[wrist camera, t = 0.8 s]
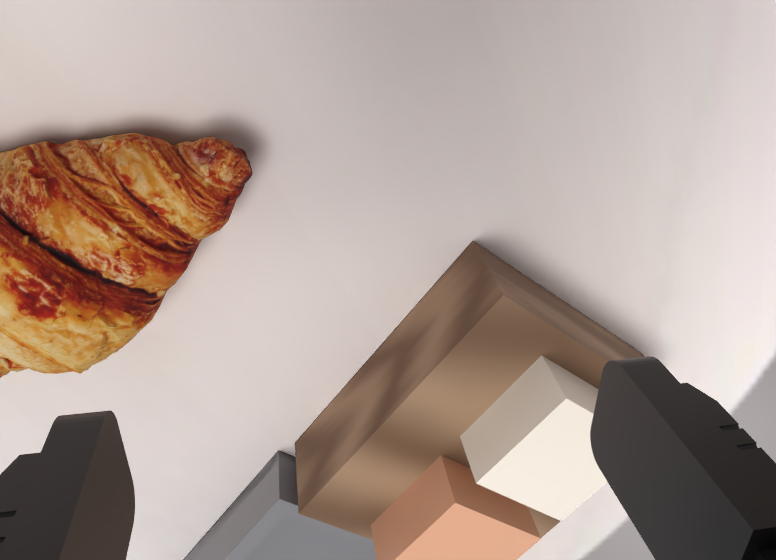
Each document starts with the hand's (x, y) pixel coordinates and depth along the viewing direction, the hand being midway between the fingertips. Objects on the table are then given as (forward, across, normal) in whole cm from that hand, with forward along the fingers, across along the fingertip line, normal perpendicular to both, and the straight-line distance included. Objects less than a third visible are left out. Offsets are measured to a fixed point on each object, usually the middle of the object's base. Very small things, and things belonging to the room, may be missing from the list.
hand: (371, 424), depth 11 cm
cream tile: (+15, -11, +15) cm, 24 cm away
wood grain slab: (+21, -9, +17) cm, 28 cm away
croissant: (+21, +12, +5) cm, 24 cm away
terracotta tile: (+16, -6, +21) cm, 27 cm away
